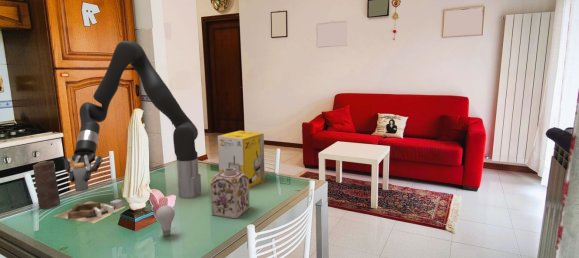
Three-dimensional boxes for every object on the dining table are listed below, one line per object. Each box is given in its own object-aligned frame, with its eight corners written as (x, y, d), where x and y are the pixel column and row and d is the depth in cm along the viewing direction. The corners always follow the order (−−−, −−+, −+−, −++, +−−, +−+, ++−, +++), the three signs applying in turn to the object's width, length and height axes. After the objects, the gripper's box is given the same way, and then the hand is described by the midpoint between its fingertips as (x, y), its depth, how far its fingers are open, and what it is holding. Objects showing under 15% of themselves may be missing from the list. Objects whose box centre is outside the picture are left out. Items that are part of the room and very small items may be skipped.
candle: (49, 212, 139) (42, 165, 135) (34, 210, 140) (27, 164, 137) (64, 204, 146) (59, 160, 143) (50, 203, 148) (44, 159, 144)
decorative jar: (250, 207, 142) (249, 166, 139) (237, 219, 131) (235, 174, 128) (225, 204, 146) (223, 163, 143) (210, 215, 135) (208, 171, 132)
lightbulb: (160, 231, 122) (158, 202, 120) (177, 231, 122) (175, 202, 120) (155, 240, 116) (152, 210, 114) (173, 239, 116) (171, 209, 114)
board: (126, 208, 142) (126, 206, 142) (94, 225, 127) (93, 223, 127) (89, 203, 148) (89, 201, 148) (54, 218, 133) (53, 216, 133)
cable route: (126, 206, 142) (126, 200, 141) (99, 220, 129) (98, 214, 128) (112, 204, 144) (112, 198, 143) (84, 218, 131) (84, 211, 130)
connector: (90, 187, 136) (87, 162, 134) (84, 191, 132) (81, 165, 130) (79, 187, 136) (76, 162, 134) (73, 191, 131) (69, 165, 130)
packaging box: (264, 180, 176) (263, 133, 172) (244, 190, 163) (242, 139, 158) (240, 175, 185) (239, 130, 180) (219, 184, 171) (217, 135, 167)
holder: (100, 207, 141) (100, 202, 140) (93, 216, 132) (92, 211, 132) (77, 209, 139) (76, 204, 138) (68, 218, 130) (67, 213, 130)
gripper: (64, 139, 136) (54, 178, 127) (103, 138, 139) (96, 175, 130) (71, 149, 142) (62, 186, 133) (108, 147, 145) (102, 184, 136)
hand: (79, 181), depth 131 cm, fingers closed on connector, 4 cm apart
